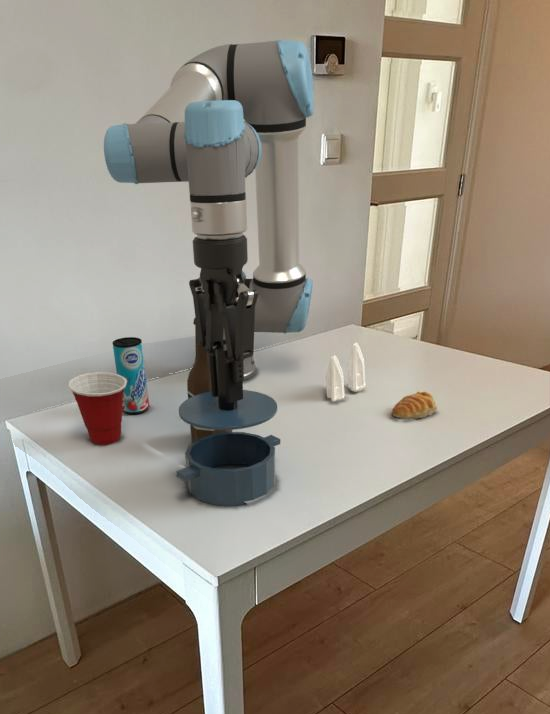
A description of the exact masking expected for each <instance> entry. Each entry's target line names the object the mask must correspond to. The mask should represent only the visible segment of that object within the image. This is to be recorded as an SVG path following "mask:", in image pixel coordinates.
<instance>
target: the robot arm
mask: <svg viewBox="0 0 550 714" xmlns="http://www.w3.org/2000/svg"><path fill="white" fill-rule="evenodd" d="M311 63H312V62H311V58H310V54H309V50H308V48H307V46H306V45H305V44H304V42H302V41H300V40H282V39H279V40H268V41H260V42H259V41H258V42H249V43H235V44H234V43H233V44H232V43H228V44H222V45H218V46H217V45H216V46H214V47H212V48H209V49H207V50H205V51H203V52H201V53H199V54H197V55H195V56H194V57H192V58H191V59H190V60H188V61H186V62H185V63H184V64H183V65H182V66H181V67H179V68H178V70H177V71H176V72H175V73H174V75H173V77H172V79H171V82H170V86H169V88H168V89H167V90H166V91H165V92H164V94H162V96H161V97H160V98H159V99H157V101H156V102H155V103H153V105H151V107H150V108H149V109H148V110H147V111H146V112H145V113H144V114H143V115H142V116H141V117H140V118H139V119H138V121H136V122H135V123H126V122H123V123H122V124H115V125H111V126H108V128H107V130H105V134H104V138H103V155H104V161H105V165H106V169H107V171H108V173H109V175H110V176H111V178H112V179H113V181H115V182H117V183H122V184H134V185H139V184H156V183H157V184H159V183H181V182H183V183H187V182H188V190H189V192H188V193H189V201H190V217H191V232H192V233H193V234H194V235H196V236H195V237H194V238H193V240H192V253H193V254H192V255H193V264H194V265H195V267H197V268H198V269H200V272H199V277H198V278H194V279H190V280H189V281H188V285H189V288H190V293H191V295H192V300H193V307H194V318H196V326H197V334H198V343H199V346H200V347H204V348H205V349H206V352H207V353H208V354H209V369H210V373H211V385H212V396H214V397H217V396H218V390H217V373H216V355H215V347H216V346H219V345H226V347H227V354H228V358H225V359H224V363H225V382H226V402H227V403H232V402H235V401H239V400H242V399H243V390H244V386H243V385H244V384H243V381H247V380H249V379H251V378H253V377H254V376H255V375H256V373H257V372H256V363H255V362H256V361H255V360H254V353H255V352H254V350H255V349H254V347H255V333H272V334H273V333H277V334H278V333H280V334H284V335H285V334H289V333H290V334H291V333H300V332H302V331H304V329H305V328H306V326H307V322H308V317H309V311H310V306H311V299H312V294H313V293H312V292H313V281H314V280H313V279H311V278H310V277H307V275H306V274H307V271H306V268H305V267H304V266H302V264H300V262H299V261H300V257H299V255H300V254H299V253H300V252H299V251H300V250H299V249H300V248H299V247H300V245H299V243H300V242H299V241H300V238H299V237H300V236H299V234H300V233H299V232H300V231H299V230H300V229H299V137H300V135H302V133H303V132H304V131H305V129H306V128H307V118H310V117H312V116H313V115H314V113H315V111H314V110H315V98H314V97H315V91H314V90H315V89H314V78H313V69H312V64H311ZM254 171H255V172H254ZM253 172H254V173H255V174H254V175H255V197H256V219H257V220H256V221H257V240H258V241H257V243H258V263H259V265H258V266H257V267H256V268H255V269H254V270H253V272H252V278H247V275H246V272H245V271H244V270H243V268H244V266H245V265H246V264H247V263H248V261H249V257H248V255H249V254H248V237H247V236H246V235H244V234H243V233H245V232H246V231H247V230H248V215H247V214H248V212H247V211H248V210H247V199H246V196H247V195H246V179H247V177H248V176H250V175H251V174H252V173H253ZM205 336H206V338H205ZM193 362H194V363H193V365H192V367H193V366H194V364H195V361H193Z"/></svg>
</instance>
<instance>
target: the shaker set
mask: <svg viewBox="0 0 550 714" xmlns="http://www.w3.org/2000/svg"><path fill="white" fill-rule="evenodd" d="M366 385H367V384H366V367H365V359H364V355H363V353H362V350H361V347H360V345H359V343H358V342H354V343H353V344H352V346H351V350H350V353H349V357H348V361H347V387H348V389H349V390H350V391H351V392H354V393H359V392H360V391H363V390H364V389H365V388H366ZM325 386H326V398H327V399H328V398H329V399H331V402H336V400H341V399H344V398H345V381H344V372H343V369H342V367H341V363H340V361H339V359H338V357H337V356H336V355H335V354H333V355H331V357H330V360H329V363H328V366H327V371H326V375H325Z"/></svg>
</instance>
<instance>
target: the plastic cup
mask: <svg viewBox="0 0 550 714" xmlns="http://www.w3.org/2000/svg"><path fill="white" fill-rule="evenodd" d="M126 384H127V380H126V379H125V378H124V377H123V376H120V375H118V374H117V373H113V372H108V371H94V372H88V373H83V374H79V375H76V376H75V377H73V378H72V379H70V380H69V382H68V383H67V386H68V388H69V390H70V391H71V392H72V395H73V397H74V400H75V402H76V404H77V407H78V409H79V413H80V415H81V418H82V422H83V424H84V426H85V428H86V431H87V434H88V437H89V439H90V441H91V443H92V444H95V445H99V446H106V445H107V446H108V445H111V444H115V443H117V442H119V440H121V436H122V422H123V410H122V404H123V393H124V388H125V387H126Z"/></svg>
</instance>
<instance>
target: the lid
mask: <svg viewBox="0 0 550 714" xmlns="http://www.w3.org/2000/svg"><path fill="white" fill-rule="evenodd" d="M215 355H216V373H217V390H218V396H217V397H214V396H212V391H210V392H206V393H202V394H198V395H196V396H193V397H191V398H189V399H188V398H187V399H185V400H184V401H183V402H182V403H181V404H180V405H179V407H178V416H179V418H180V419H181V420H182V421H183V422H184V423H186V424H187V425H189V426H190V425H192V426H195V427H199V428H204V429H212V430H232V431H234V430H242V429H248V428H252V427H256V426H259V425H262V424H264V423H266V422H268V421H270V420H271V419H272V418H274V417H275V416H276V414H277V412H278V404H277V403H278V402H277V401H276V400H275V399H274V398H273V397H271V396H270V395H267V394H265V393H262V392H258V391H254V390H248V389H243V399H242V400H239V401H235V402H232V403H227V402H226V382H225V363H224V359H225V358H228V354H227V347H226V345H219V346H216V347H215Z"/></svg>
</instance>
